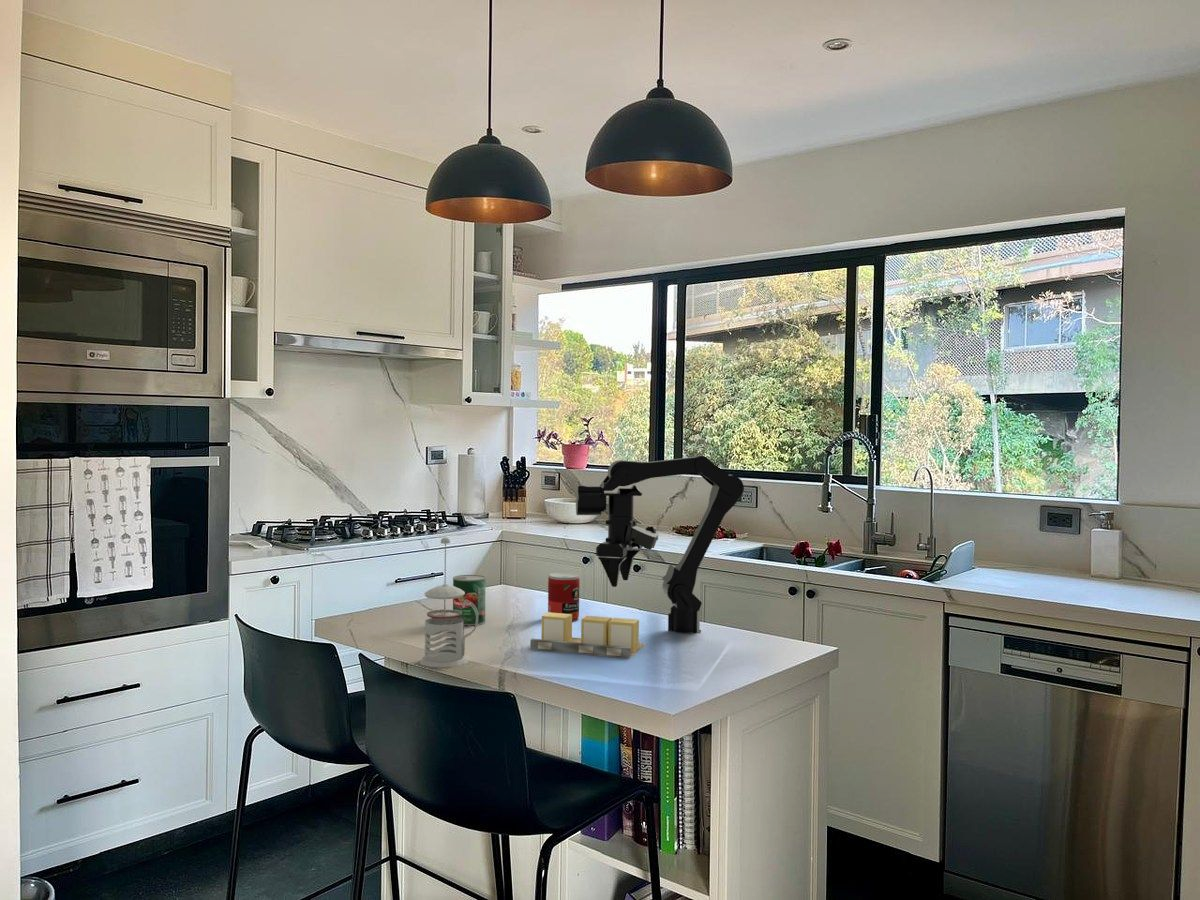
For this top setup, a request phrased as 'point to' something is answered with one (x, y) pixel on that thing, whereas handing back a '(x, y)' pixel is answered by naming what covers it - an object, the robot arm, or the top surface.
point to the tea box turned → (557, 627)
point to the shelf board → (582, 648)
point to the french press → (446, 628)
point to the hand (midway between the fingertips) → (620, 583)
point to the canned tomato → (470, 598)
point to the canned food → (564, 593)
